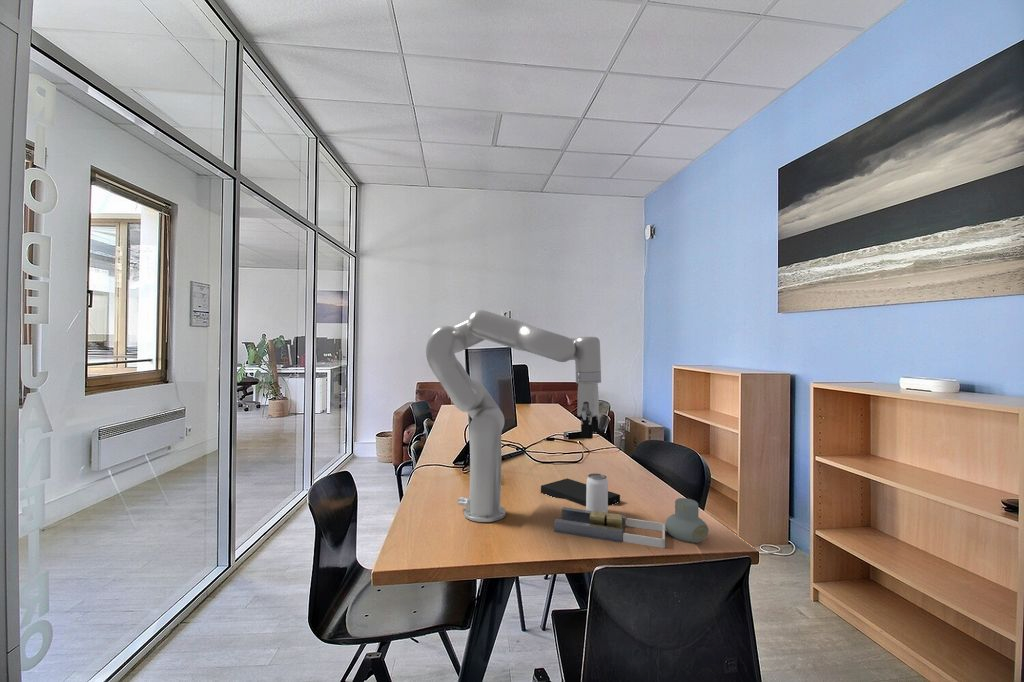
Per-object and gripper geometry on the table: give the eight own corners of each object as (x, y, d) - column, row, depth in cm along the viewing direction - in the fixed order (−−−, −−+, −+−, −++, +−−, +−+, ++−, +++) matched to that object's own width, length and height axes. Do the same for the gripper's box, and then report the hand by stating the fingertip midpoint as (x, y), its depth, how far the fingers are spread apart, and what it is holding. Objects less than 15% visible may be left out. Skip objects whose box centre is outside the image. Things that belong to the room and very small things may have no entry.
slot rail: (553, 535, 116) (553, 522, 116) (564, 517, 129) (564, 506, 129) (621, 546, 110) (621, 532, 110) (625, 527, 123) (625, 514, 123)
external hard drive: (567, 486, 160) (567, 478, 160) (620, 503, 143) (620, 494, 143) (540, 494, 151) (540, 485, 151) (593, 513, 133) (593, 504, 133)
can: (594, 509, 136) (594, 471, 136) (611, 515, 131) (612, 476, 131) (581, 515, 131) (582, 475, 131) (599, 521, 126) (600, 480, 127)
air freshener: (685, 528, 122) (685, 493, 122) (712, 540, 115) (712, 502, 115) (660, 537, 116) (660, 500, 117) (687, 549, 109) (687, 510, 110)
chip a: (589, 530, 118) (589, 515, 118) (591, 524, 121) (591, 510, 121) (604, 532, 116) (604, 517, 116) (606, 527, 120) (606, 512, 120)
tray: (623, 545, 111) (623, 533, 111) (626, 528, 122) (626, 517, 122) (664, 552, 108) (664, 540, 108) (664, 534, 118) (664, 523, 118)
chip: (606, 533, 116) (606, 518, 116) (605, 527, 120) (606, 513, 120) (621, 534, 115) (622, 519, 115) (620, 528, 119) (620, 514, 119)
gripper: (581, 376, 138) (583, 429, 138) (569, 380, 122) (571, 440, 121) (605, 375, 135) (607, 430, 135) (595, 379, 119) (598, 441, 119)
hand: (590, 435), depth 128 cm, fingers open, 9 cm apart
